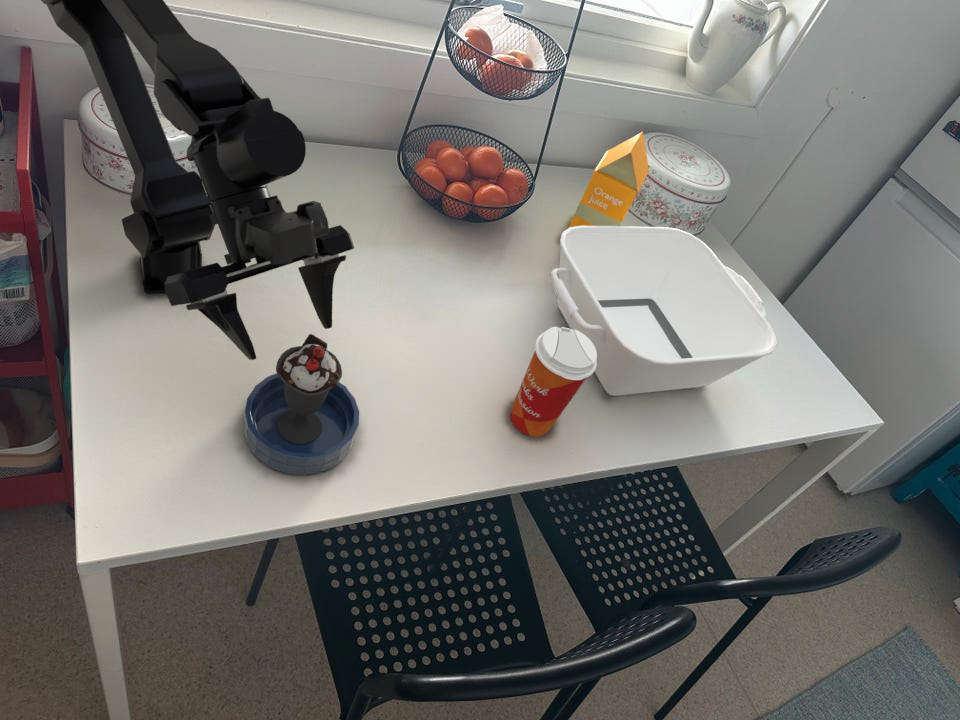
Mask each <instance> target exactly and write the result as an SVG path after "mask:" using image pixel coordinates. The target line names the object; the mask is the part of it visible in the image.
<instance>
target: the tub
mask: <svg viewBox="0 0 960 720" xmlns="http://www.w3.org/2000/svg"><path fill="white" fill-rule="evenodd" d="M559 251H560V252H559V267H556V268H554V269H552V271H551V272H550V280H551V286H552V289H553V291H554V293H555V296H556V298H557V309H558V311H559V313H560V316H561V317H562V318H563V320H564V322H565V324H566V325H567V328H570V330H573V329H575V330H578V331H579V332H581V333H583V334H584V335H585V336H587V337H588V338H589V339H590V340H591V342H592V343H593V344H594V346H595V349H596V352H597V359H596V361H597V365H596V369H595V371H594V372H593V374H594V376H595V377H596V380H597V381H598V383H599V385H600V387H601V388H602V390H603V392H604V394H606V395H607V396H608V397H612V398H617V397H624V396H635V395H644V394H653V393H663V392H672V391H681V390H691V389H701V388H705V387H707V386H710V385H712V384H713V383H716V382H717V381H719V380H721V379H722V378H723V379H724V378H725V377H727V376H729V375H730V374H733V373H734V372H736V371H739V370H740V369H742V368H744V367H746V366H748V365H750V364H751V363H754V362H755V361H758V360H759V359H761V358H763V357H765V356H769V355H772V354H773V352H774V350H775V349H776V348H777V346H778V343H777V336H776V333H775V331H774V329H773V327H772V326H771V323H770V322H769V321H768V320H767V315H768V314H767V311H766V309H765V307H764V302H763V300H762V299H761V297H760V296H759V295H758V293H757V291H755V289H754V288H753V286H752V285H751V284H750V283H749V282H748V281H747V279H745V277H744V276H743V275H739V274H738V273H737V272H735V270H733V269H732V268H730V267H728V266H725V265H724V263H723V262H722V261H721V260H720V258H719V257H718V256H717V255H716V254H715V252H714V251H713V250H712V249H711V248H710V247H709V246H708V245H707V244H706V243H705V242H704V241H703V240H702V239H700V238H699V237H697V236H695V235H693V234H692V233H690V232H688V231H685V230H682V229H679V228H675V227H669V226H638V225H637V226H635V225H634V226H632V225H620V226H575V227H570V228H568V227H567V229H565V230H564V231H562V232H561V236H560V239H559Z"/></svg>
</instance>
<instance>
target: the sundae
mask: <svg viewBox="0 0 960 720" xmlns="http://www.w3.org/2000/svg"><path fill="white" fill-rule="evenodd" d="M275 371H276V373H277V375H278V376H279V378H280V379H281V380H282V381H283V382H284V392H285V400H286V404H287V405H288V407H289V408H290V409H291V410H289V411H287V412H285V413H284V414H283V415H281V417H280V418H279V420H278V422H277V429H278V432H279V434H280V435H281V436H282V437H283V438H284V439H285V440H287V441H289V442H291V443H294V444H306V443H310V442H312V441H314V440H315V439H317V438H318V437H319V435H320V433H321V431H322V424H321V421H320V420H319V418H318V417H317V416H316V415H315V414H314V413H315V412H316V411H318V410H319V409H320V407H321V406H322V404H323V402H324V401H325V399H326V396H327V394H328V392H329V390H330V389H331V388H335V387H336V386H337V383H338V382H340V381H341V379H342V377H343V369H342V365H341V363H340V361H339V359H338V358H337V356H336V355H335V354H334V353H332V352H331V351H330V350H328V343H327V342H326V341H324V340H322V339H321V338H319V337H318V336H316V335H314V334H313V333H309V334H308V335H307V337H306V338H305V340H304V341H303V343H302V345H299V346H293V347H290V348H288V349H286V350H285V351H283V352H282V353H281V354H280V356H279V358H278V359H277V362H276V365H275Z"/></svg>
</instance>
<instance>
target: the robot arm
mask: <svg viewBox="0 0 960 720" xmlns="http://www.w3.org/2000/svg"><path fill="white" fill-rule="evenodd" d="M40 1H41V2H42V3H43V4H44V5H46V7H47V8H48V11H49V12H50V15H51V17H52V19H53V21H54V23H55V25H56V27H57V28H59V29H60V30H61V31H62V32H63V33H64V34H65V35H67V36H68V37H69V38H71V40H73V41H74V42H75V43H77V45H79V46H80V48H82V50H83V53H84V55H85V57H86V60H87V62H88V65H89V67H90V70H91V72H92V75H93V76H94V79H95V81H96V84H97V86H98V89H99V90H100V94H101V95H102V99H103V101H104V103H105V106H106V108H107V111H108V113H109V115H110V118H111V120H112V123H113V125H114V127H115V131H116V132H117V133H116V134H117V135H118V137H119V140H120V142H121V145H122V147H123V149H124V152H125V154H126V157H127V159H128V161H129V162H128V163H129V164H130V167H131V168H132V171H133V174H134V180H133V186H132V190H131V196H130V206H131V208H132V211H133V213H132V214H130V215H127V216H125V217H123V218H121V224H122V229H123V232H124V235H125V237H126V238H127V239H128V240H129V242H130V243H131V245H133V247H134V248H135V249H136V250H137V252H138V253H139V254H140V256H139V258H138V259H139V268H140V275H141V283H142V289H143V292H144V293H146V294H160V293H165V294H166V297H167V299H168V302H169V304H170V306H171V307H174V306H175V307H176V306H181V305H185V308H186V310H187V311H193V310H194V311H195V310H197V311H198V312H200V313H201V314H202V315H203V316H205V317H206V318H207V319H208V320H209V321H210V322H212V323H213V324H214V325H215V326H217V328H218V329H219V330H221V332H222V333H223V334H224V335H225V336H226V337H227V338H228V339H229V340H230V341H231V342H232V343H233V344H234V345H235V347H237V348H238V349H239V351H240V352H241V353H242V354H243V355H244V356H245V357H246V358H247V359H248V360H250V361H254V360H256V359H257V356H256V351H255V348H254V344H253V341H252V339H251V337H250V334H249V332H248V330H247V328H246V326H245V323H244V321H243V319H242V317H241V315H240V312H239V310H238V309H239V308H238V300H237V293H236V292H231V293H228V291H227V287H228V285H230V284H233V283H236V282H239V281H242V280H245V279H248V278H252V277H254V276H257V275H261V274H263V273H266V272H269V271H273V270H275V269H279V268H283V267H285V266H288V265H290V264H293V263H297V262H300V261H303V263H304V264H303V265H301V266H299V267H298V268H297V269H298V272H299V274H300V276H301V279H302V281H303V284H304V287H305V289H306V291H307V294H308V296H309V298H310V301H311V303H312V306H313V308H314V311H315V313H316V315H317V318H318V320H319V321H320V324H321V325H322V327H323V329H326V330H329V329H331V328H332V327H333V294H334V293H333V290H334V289H333V288H334V281H335V275H336V272H337V270H338V268H339V266H340V264H341V263H342V262H345V261H346V259H347V255H339V254H343V253H344V252H345V253H346V252H348V251H352V250H354V249H355V246H354V242H353V239H352V236H351V232H349V231H348V230H347V229H346V228H345V227H344V226H342V225H341V224H339V225H336V226H331V227H330V226H329V220H328V217H327V214H326V212H325V210H324V207H323V204H322V203H321V202H319V201H316V200H311V201H307V202H303V203H300V204H298V205H297V207H296V210H294V211H289V212H287V211H286V210H285V209H284V208H283V207H284V206H283V205H282V201H281V200H280V199H279V198H278V195H276V194H275V195H272V196H271V194H270V191H269V188H268V184H271V183H274V182H275V181H278V180H280V179H283V178H285V177H288V176H291V175H293V174H294V173H296V172H298V170H299V169H300V168H301V167H302V165H303V163H304V161H305V158H306V154H307V151H306V150H307V148H306V141H305V136H304V135H303V132H302V131H301V130H300V129H299V128H298V126H297V124H296V123H294V121H293V120H292V119H291V118H289V117H288V116H287V115H285V114H283V113H282V112H279V111H276V110H274V106H273V104H272V101H271V99H270V98H269V97H263V98H262V97H260V96H259V95H258V94H257V93H256V92H255V90H254V89H253V88H252V87H251V85H250V84H249V83H248V82H247V81H246V79H245V78H244V77H243V76H242V74H240V72H239V71H238V69H237V68H236V67H235V66H234V64H232V63H231V62H230V61H229V60H228V59H227V58H226V57H225V56H224V55H223V54H222V53H221V52H220V51H219V50H217V48H214V47H212V46H210V45H208V44H205V43H204V42H201V41H199V40H196V39H194V37H193V36H192V35H190V33H189V32H188V31H187V29H186V28H185V27H184V26H183V24H182V23H181V21H180V20H179V19H178V17H177V16H176V15H175V14H174V13H173V11H172V10H171V8H170V7H169V5H168V4H167V3H166V2H165V0H40ZM128 39H129V40H130V42H131V43H132V45H133V46H134V47H135V48H136V51H138V53H139V54H140V55H141V56H142V58H143V59H144V61H145V62H146V64H147V65H148V66H149V68H150V70H151V72H152V73H153V75H154V79H153V80H154V81H153V95H154V97H155V99H156V102H157V105H158V108H159V109H160V112H161V114H162V115H163V117H164V118H165V119H166V120H167V121H169V123H170V124H171V125H172V126H173V127H174V128H175V129H177V130H178V131H179V132H183V133H184V134H187V135H188V136H190V137H191V139H190V144H189V146H188V147H187V148H186V149H187V150H186V159H187V161H188V162H192V161H193V162H194V163H195V166H196V169H197V171H198V173H197V172H196V171H195V170H192V171H191V170H190V171H188V170H187V169H186V168H185V167H183V166H182V165H181V164H180V163H178V162H177V160H176V158H175V155H174V152H173V151H172V148H171V145H170V143H169V140H168V138H167V135H166V132H165V130H164V127H163V125H162V122H161V120H160V118H159V115H158V112H157V110H156V108H155V105H154V102H153V100H152V97H151V95H150V93H149V90H148V87H147V84H146V81H145V80H144V76H143V75H142V72H141V70H140V68H139V65H138V63H137V59H136V58H135V55H134V52H133V50H132V47H131V45H130V42H129V40H128ZM216 226H218V228H219V232H220V234H221V236H222V239H223V242H224V246H225V247H226V251H227V252H228V253H226V254H224V255H223V257H224V260H225V262H226V265H224V266H221V265H220V263H218V262H214V263H211V264H206V265H203V252H202V247H201V242H203V241H206V242H207V241H209V240H211V238H212V235H213V232H214V231H215V230H214V229H215V227H216ZM253 259H255V263H253V264H250V265H247V264H249V263H252V260H253Z"/></svg>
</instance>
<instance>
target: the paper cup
mask: <svg viewBox="0 0 960 720" xmlns="http://www.w3.org/2000/svg"><path fill="white" fill-rule="evenodd" d="M596 359H597V352H596V349H595V346H594V344H593V343H592V342H591V340H590V339H589V338H588V337H587V336H585V335H584V334H583V333H581V332H579V331H578V330H575V329H573V330H570V328H569V327H565V326H560V327H558V326H552V327H549V328H548V329H547V330H545V331H544V332H543V333H540V334H539V336H538V337H537V338H536V339H535V344H534V352H533V354H532V357H531V359H530V362H529V364H528V366H527V369H526V371H525V373H524V376H523V378H522V381H521V383H520V386H519V389H518V391H517V393H516V396H515V398H514V401H513V404H512V407H511V410H510V420H511V423H512V425H513V426H514V427H515V428H516V429H517V430H518V432H520V433H522V434H524V435H526V436H529V437H542V436H544V435H545V434H547V433H548V432H549V431H550V430H551V428H552V427H554V424H555V423H556V422H557V421H558V419H559V418H560V416H561V415H562V414H563V412H564V411H565V409H566V408H567V407H568V405H569V403H570V402H571V401H572V399H573V398H574V397H575V395H576V393H577V392H578V391H579V389H580V388H581V387H582V385H583V383H584V382H585V381H586V379H588V377H590V376H591V375H593V374H594V371H595V369H596V365H597V361H596Z"/></svg>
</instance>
